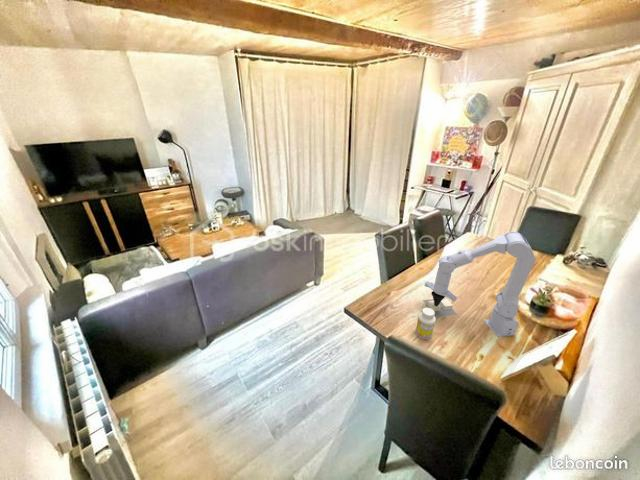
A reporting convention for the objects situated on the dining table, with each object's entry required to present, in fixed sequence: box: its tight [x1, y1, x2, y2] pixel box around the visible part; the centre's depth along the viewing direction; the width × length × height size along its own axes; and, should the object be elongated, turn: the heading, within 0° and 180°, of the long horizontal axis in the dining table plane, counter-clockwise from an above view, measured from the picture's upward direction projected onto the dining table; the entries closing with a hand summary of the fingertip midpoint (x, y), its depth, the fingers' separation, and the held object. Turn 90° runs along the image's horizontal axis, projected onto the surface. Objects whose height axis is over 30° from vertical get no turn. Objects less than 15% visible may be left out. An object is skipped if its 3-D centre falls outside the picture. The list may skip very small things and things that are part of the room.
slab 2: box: [439, 298, 454, 310], centre depth 120 cm, size 2×4×5 cm
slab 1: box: [426, 299, 441, 311], centre depth 119 cm, size 2×4×5 cm
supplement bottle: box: [415, 307, 437, 340], centre depth 103 cm, size 7×7×13 cm
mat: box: [422, 298, 458, 318], centre depth 120 cm, size 12×11×1 cm
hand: (436, 304), depth 117 cm, fingers closed
